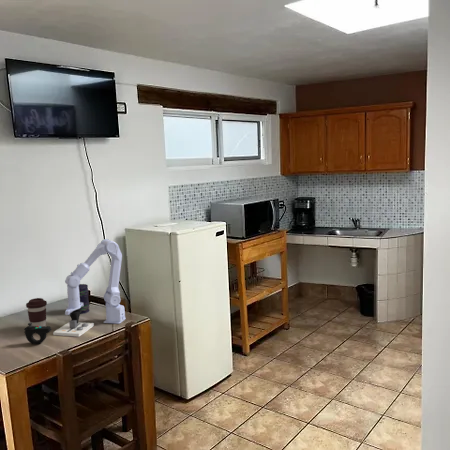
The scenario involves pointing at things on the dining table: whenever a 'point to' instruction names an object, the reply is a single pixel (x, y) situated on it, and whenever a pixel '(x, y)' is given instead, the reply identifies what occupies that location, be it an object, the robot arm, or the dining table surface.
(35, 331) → the controller
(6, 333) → the dining table surface
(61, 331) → the console
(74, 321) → the fader tab
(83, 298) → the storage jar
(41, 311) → the coffee cup
